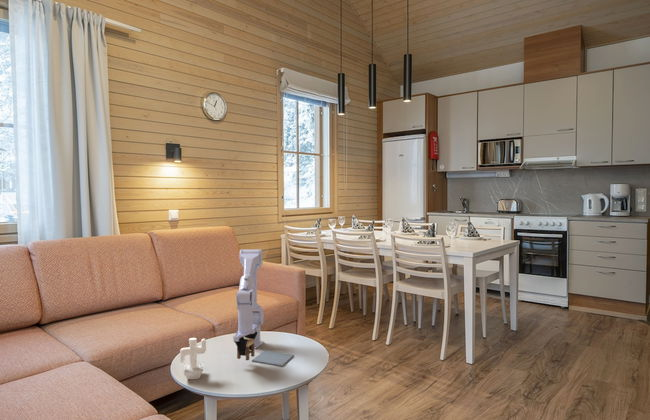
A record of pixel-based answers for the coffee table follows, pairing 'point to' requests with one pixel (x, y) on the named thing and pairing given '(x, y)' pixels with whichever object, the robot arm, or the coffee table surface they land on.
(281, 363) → the slate mat
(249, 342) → the stool
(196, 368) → the figurine
